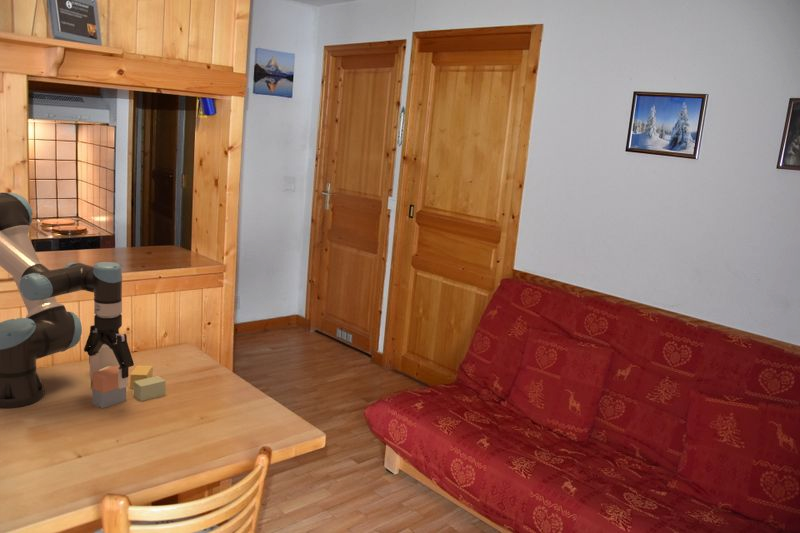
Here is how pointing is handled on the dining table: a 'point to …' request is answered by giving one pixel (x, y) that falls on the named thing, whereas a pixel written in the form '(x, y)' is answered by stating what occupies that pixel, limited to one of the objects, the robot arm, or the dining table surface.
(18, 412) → the dining table surface
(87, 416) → the dining table surface
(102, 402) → the slate brick
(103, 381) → the terracotta brick
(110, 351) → the mug
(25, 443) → the dining table surface
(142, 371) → the mustard brick
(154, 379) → the sage brick
